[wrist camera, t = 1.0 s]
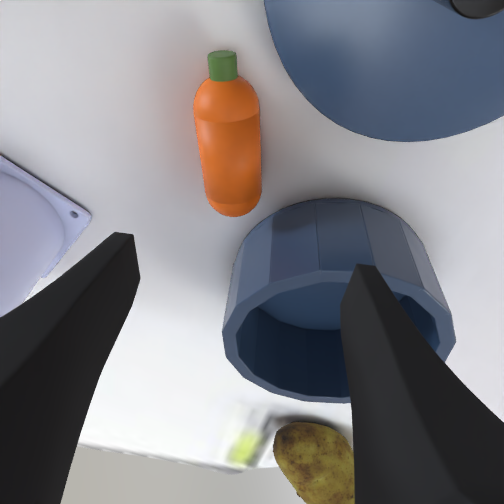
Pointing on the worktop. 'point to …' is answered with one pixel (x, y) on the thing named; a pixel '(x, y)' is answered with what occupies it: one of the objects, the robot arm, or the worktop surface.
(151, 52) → the worktop surface
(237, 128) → the carrot
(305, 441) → the potato
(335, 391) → the pot
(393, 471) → the robot arm
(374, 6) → the lid
